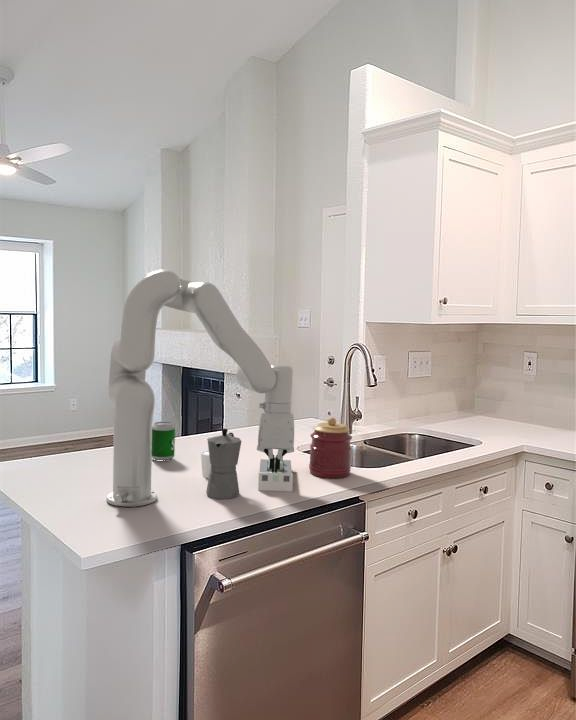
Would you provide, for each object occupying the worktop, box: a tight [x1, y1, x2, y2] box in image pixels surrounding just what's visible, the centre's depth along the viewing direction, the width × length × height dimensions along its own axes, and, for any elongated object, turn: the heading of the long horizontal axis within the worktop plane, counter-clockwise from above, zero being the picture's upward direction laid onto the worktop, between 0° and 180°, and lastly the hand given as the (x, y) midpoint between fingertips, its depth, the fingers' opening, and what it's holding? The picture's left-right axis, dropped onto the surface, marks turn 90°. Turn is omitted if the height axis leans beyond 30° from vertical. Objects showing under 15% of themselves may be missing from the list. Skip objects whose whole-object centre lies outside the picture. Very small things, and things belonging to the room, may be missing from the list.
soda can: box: [152, 421, 176, 461], centre depth 199 cm, size 8×8×12 cm
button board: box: [257, 458, 294, 492], centre depth 181 cm, size 24×10×5 cm, turn 1°
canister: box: [308, 417, 353, 479], centre depth 190 cm, size 13×13×18 cm
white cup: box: [200, 450, 211, 479], centre depth 182 cm, size 7×7×7 cm
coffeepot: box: [205, 428, 242, 500], centre depth 165 cm, size 15×9×18 cm, turn 171°
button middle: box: [268, 461, 283, 472], centre depth 181 cm, size 4×4×3 cm
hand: (274, 471), depth 174 cm, fingers closed
